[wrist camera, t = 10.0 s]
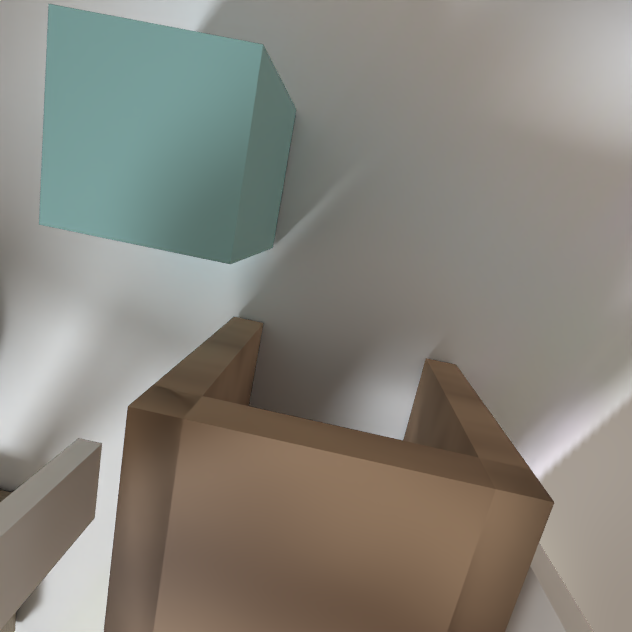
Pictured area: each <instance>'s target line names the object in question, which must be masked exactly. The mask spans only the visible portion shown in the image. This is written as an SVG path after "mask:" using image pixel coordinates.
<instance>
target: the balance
mask: <svg viewBox="0 0 632 632" xmlns="http://www.w3.org/2000/svg"><path fill="white" fill-rule="evenodd" d="M11 493H12V492H7V491H3V490H0V502H1V501H3V500H4V499H5V498H6V497H7V496H9V495H10V494H11ZM15 620H16V612H15V614H14V615H13V616H12V617H11V618H10V620H9V621H8V622H7V623H6V624H5V625H4V627H3V628H2V629H1V630H0V632H14V631H15Z"/></svg>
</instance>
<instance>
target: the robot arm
mask: <svg viewBox="0 0 632 632" xmlns="http://www.w3.org/2000/svg"><path fill="white" fill-rule="evenodd" d="M101 449H102V443H98V442H93V441H89V440H84V439H79V438H78V439H77V440H76V441H75V442H73V443H72V444H71V445H70V446H68V447H67V448H66V449H65V450H64V451H62V452H61V453H60V454H59V455H57V456H56V457H55V458H54V459H53V460H51V461H50V462H49V463H48V464H46V465H45V466H44V467H43V468H42V469H40V470H39V471H38V472H37V473H36V474H34V475H33V476H32V477H31V478H29V479H28V480H27V481H26V482H25V483H23V484H22V485H21V486H20V487H18V488H17V489H16V490H15V491H14V492H12V493H11V494H10V495H9V496H7V497H6V498H5V499H4V500H3V501H1V502H0V630H1V629H2V628H3V627H4V625H5V624H6V623H7V622H8V621H9V620H10V618H11V617H12V616H13V615H14V614H15V612H16V611H17V610H18V609H19V608H20V606H21V605H22V604H23V603H24V602H25V600H26V599H27V598H28V597H29V596H30V594H31V593H32V592H33V591H34V590H35V588H36V587H37V586H38V585H39V584H40V582H41V581H42V580H43V579H44V578H45V577H46V575H47V574H48V573H49V572H50V571H51V569H52V568H53V567H54V566H55V565H56V563H57V562H58V561H59V560H60V559H61V557H62V556H63V555H64V554H65V553H66V551H67V550H68V549H69V548H70V547H71V545H72V544H73V543H74V542H75V541H76V540H77V538H78V537H79V536H80V535H81V534H82V532H83V531H84V530H85V529H86V528H87V526H88V525H89V524H90V523H91V522H92V520H93V519H94V518H95V509H96V499H97V489H98V479H99V469H100V459H101ZM505 632H594V631H593V629H592V628H591V626H590V624H589V623H588V621H587V620H586V618H585V616H584V615H583V613H582V611H581V610H580V608H579V606H578V605H577V603H576V602H575V600H574V598H573V597H572V595H571V593H570V592H569V590H568V589H567V587H566V585H565V584H564V582H563V581H562V579H561V578H560V576H559V574H558V572H557V571H556V569H555V567H554V566H553V564H552V562H551V561H550V559H549V558H548V556H547V554H546V553H545V551H544V549H543V548H542V546H541V544H540V543H539V544H538V546H537V549H536V552H535V554H534V557H533V560H532V562H531V565H530V568H529V570H528V573H527V575H526V578H525V581H524V583H523V586H522V589H521V591H520V594H519V596H518V599H517V602H516V604H515V607H514V610H513V612H512V615H511V617H510V620H509V623H508V625H507V628H506V631H505Z"/></svg>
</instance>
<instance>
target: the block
mask: <svg viewBox="0 0 632 632" xmlns="http://www.w3.org/2000/svg"><path fill="white" fill-rule="evenodd" d="M295 114H296V108H295V106H294V104H293V102H292V100H291V98H290V96H289V94H288V92H287V90H286V88H285V86H284V84H283V82H282V80H281V78H280V77H279V75H278V73H277V71H276V69H275V67H274V65H273V63H272V61H271V59H270V57H269V55H268V53H267V51H266V49H265V47H264V45H263V44H258V43H253V42H248V41H243V40H237V39H232V38H227V37H222V36H216V35H211V34H206V33H200V32H195V31H190V30H185V29H179V28H174V27H169V26H164V25H158V24H153V23H148V22H143V21H137V20H132V19H127V18H121V17H116V16H111V15H106V14H100V13H95V12H90V11H85V10H79V9H74V8H69V7H63V6H58V5H53V4H49V7H48V30H47V53H46V76H45V99H44V122H43V145H42V168H41V191H40V214H39V225H44V226H49V227H54V228H59V229H63V230H68V231H73V232H78V233H83V234H87V235H92V236H97V237H102V238H107V239H112V240H116V241H121V242H126V243H131V244H136V245H140V246H145V247H150V248H155V249H160V250H165V251H169V252H174V253H179V254H184V255H189V256H193V257H198V258H203V259H208V260H213V261H218V262H222V263H227V264H232V263H235V262H237V261H240V260H242V259H245V258H248V257H250V256H253V255H255V254H258V253H261V252H263V251H266V250H268V249H271V248H273V243H274V237H275V231H276V226H277V220H278V214H279V208H280V202H281V196H282V190H283V185H284V179H285V173H286V167H287V161H288V155H289V150H290V144H291V138H292V132H293V126H294V120H295Z"/></svg>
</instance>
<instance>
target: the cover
mask: <svg viewBox="0 0 632 632" xmlns="http://www.w3.org/2000/svg"><path fill="white" fill-rule="evenodd" d="M262 328H263V323H261V322H256V321H252V320H247V319H243V318H238V317H233V318H232V319H231V320H230V321H229V322H227V323H226V324H225V325H224V326H223V327H221V328H220V329H219V330H218V331H217V332H216V333H214V334H213V335H212V336H211V337H210V338H208V339H207V340H206V341H205V342H204V343H202V344H201V345H200V346H199V347H198V348H197V349H195V350H194V351H193V352H192V353H191V354H189V355H188V356H187V357H186V358H185V359H183V360H182V361H181V362H180V363H179V364H178V365H176V366H175V367H174V368H173V369H172V370H170V371H169V372H168V373H167V374H166V375H164V376H163V377H162V378H161V379H160V380H159V381H157V382H156V383H155V384H154V385H153V386H151V387H150V388H149V389H148V390H147V391H145V392H144V393H143V394H142V395H141V396H140V397H138V398H137V399H136V400H135V401H134V402H132V403H131V404H130V405H129V406H128V410H127V419H126V428H125V438H124V447H123V457H122V466H121V475H120V485H119V494H118V503H117V513H116V522H115V531H114V541H113V550H112V560H111V569H110V578H109V588H108V597H107V606H106V616H105V625H104V632H505V631H506V628H507V625H508V623H509V620H510V617H511V615H512V612H513V610H514V607H515V604H516V602H517V599H518V596H519V594H520V591H521V589H522V586H523V583H524V581H525V578H526V575H527V573H528V570H529V568H530V565H531V562H532V560H533V557H534V554H535V552H536V549H537V546H538V544H539V541H540V538H541V536H542V533H543V531H544V528H545V525H546V523H547V520H548V517H549V515H550V512H551V510H552V507H553V504H554V501H553V500H552V498H551V497H550V496H549V494H548V493H547V491H546V490H545V489H544V487H543V486H542V484H541V483H540V482H539V480H538V479H537V477H536V476H535V475H534V473H533V472H532V470H531V469H530V468H529V466H528V465H527V463H526V462H525V461H524V459H523V458H522V456H521V455H520V454H519V452H518V451H517V449H516V448H515V447H514V445H513V444H512V442H511V441H510V440H509V438H508V437H507V435H506V434H505V433H504V431H503V430H502V428H501V427H500V426H499V424H498V423H497V421H496V420H495V419H494V417H493V416H492V414H491V413H490V412H489V410H488V409H487V407H486V406H485V405H484V403H483V402H482V400H481V399H480V398H479V396H478V395H477V393H476V392H475V391H474V389H473V388H472V386H471V385H470V384H469V382H468V381H467V379H466V378H465V377H464V375H463V374H462V372H461V371H460V370H459V368H458V367H457V365H455V364H450V363H446V362H441V361H437V360H432V359H427V358H426V360H425V364H424V367H423V371H422V374H421V378H420V382H419V385H418V389H417V393H416V396H415V400H414V404H413V407H412V411H411V414H410V418H409V422H408V425H407V429H406V433H405V436H404V440H403V441H402V440H398V439H393V438H389V437H384V436H380V435H375V434H371V433H367V432H362V431H358V430H353V429H349V428H344V427H340V426H335V425H331V424H326V423H322V422H317V421H313V420H308V419H304V418H299V417H295V416H290V415H286V414H281V413H277V412H272V411H268V410H263V409H259V408H254V407H250V406H249V401H250V396H251V390H252V384H253V379H254V373H255V368H256V362H257V356H258V351H259V345H260V339H261V334H262Z"/></svg>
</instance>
